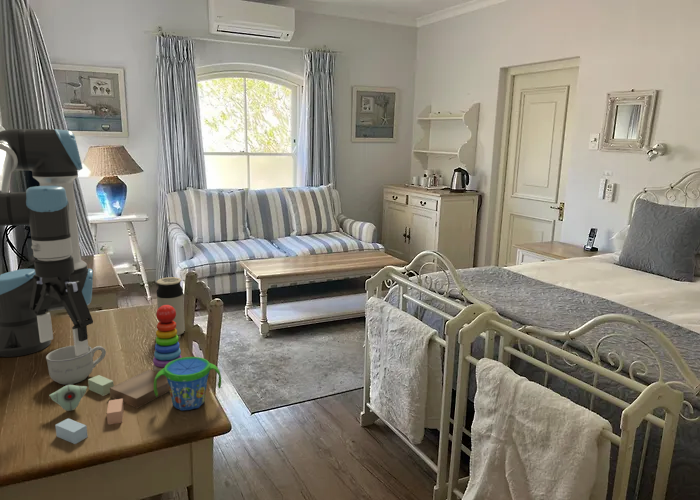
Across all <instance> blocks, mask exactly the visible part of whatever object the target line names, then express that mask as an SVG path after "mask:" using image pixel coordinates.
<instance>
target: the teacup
mask: <svg viewBox="0 0 700 500" xmlns="http://www.w3.org/2000/svg"><path fill="white" fill-rule="evenodd" d="M88 348H89V352H87V353H84V354H81V355H79V356H76V355H75V348H74V344H73V345H67V346H64V347H60V348H57V349H55V350H52V351H50V352H49V353H48V354H47V355H46V356H45V359H46V363H47V369H48V374H49V377H50V379H51V380H52V381H54V382H56V383H58V384H60V385H65V386H66V385H74V384H78V383H80V382H83V381H84V380H86V379H87V377H89V376H90V374H91V373H92V372H93V370H94V368H95V367H96V366H97V365H98V364H99V363H101V362H102V360H103V359H104V358H105V357H106V353H107V352H106V351H107V350H106V349H105V348H104V347H103V346H101V345H97V346H95V347H93V348H92V347H91V346H90V345H88ZM96 351H101V354H100V356H99V357H98V358H97V359H95V360H94V358H93V357H94V355H95V353H96Z"/></svg>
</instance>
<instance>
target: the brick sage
mask: <svg viewBox="0 0 700 500" xmlns="http://www.w3.org/2000/svg"><path fill="white" fill-rule="evenodd" d="M87 384H88V390H89V391H91V392H93V393H96V394H98V395H100V396H103V397H105V396H106V395H108V394H109V395H110V387H113V386H115V385H114V380H112V379H109V378H107V377H106V376H102V375H100V374H98V375H96V376H93V377H91V378H88V379H87Z"/></svg>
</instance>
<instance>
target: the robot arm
mask: <svg viewBox="0 0 700 500" xmlns="http://www.w3.org/2000/svg"><path fill="white" fill-rule="evenodd" d="M81 170H83V164H82V160H81V155H80V152H79V149H78V145H77V140H76V136H75V134H74V133H73V132H72V131H71V130H67V129H58V128H54V129H53V128H52V129H50V128H49V129H48V128H47V129H46V128H44V129H43V128H40V129H39V128H37V129H36V128H22V129H21V128H9V129H4V130H1V131H0V227H8V226H29V229H30V237H31V238H30V239H31V246H30V248H31V249H32V253H33V254H32V255H33V258H35V260H34V261H33V263H34V265H33V266H34V268H21V269H20V268H19V269H15V270H11V271H8V272H7V271H6V272H5V273H1V274H0V358H1V357H2V358H3V357H5V358H9V357H10V358H12V357H20V356H27V355H31V354H34V353H37V352H40V351H42V350H45V349H46V348H47V347H49V346H50V345H51V343H52V340H54V332H53V325H52V317H51V312H53V311H59V310H65V311H66V313H67V315H68V317H69V318H70V320H71V322H72V324H73V326H72V327H71V329H72V336H73V345H74V348H75V355H76V356H79V355H81V354H84V353H87V352H89V348H88V346H89V339H88V338H89V337H88V326H89V325H93V323H94V320H93V317H92V315H91V312H90V309H89V307H88V306H89V305H90V304H91V303H92V298H93V285H94V284H93V281H94V280H93V279H94V278H93V277H94V273H93V272H94V271H93V269H92V268H88V264H87V262H86V261H84V260H83V259H82V257H81V249H80V247H81V246H80V239H79V238H80V237H79V229H78V219H77V210H76V200H75V199H76V198H75V191H74V190H75V189H74V181H75V180H76V178H78V176H79V174H78V171H81ZM14 171H31V172H32V178H33V179H34V180H36V181H37V182H38V183H39V185H38V186H37V185H35V186H30V187H28V188H27V189H25V191H15V192H12V191H11V192H10V191H9V190H10V184H11V177H12V173H13V172H14Z"/></svg>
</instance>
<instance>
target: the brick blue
mask: <svg viewBox="0 0 700 500" xmlns="http://www.w3.org/2000/svg"><path fill="white" fill-rule="evenodd" d="M54 426H55V435H56V438H59V439H62V440H64V441H66V442H68V443H71V444H73V445H77V444H78V443H80V442H81V441H84V439H87V438H88V436H89V435H88V428H87V427H88V426H87V425H86V424H84V423H81V422H78V421H76V420H73V419H71V418H69V417H68V418H66V419H64V420H62V421H59V422H58V423H56V424H55V425H54Z"/></svg>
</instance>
